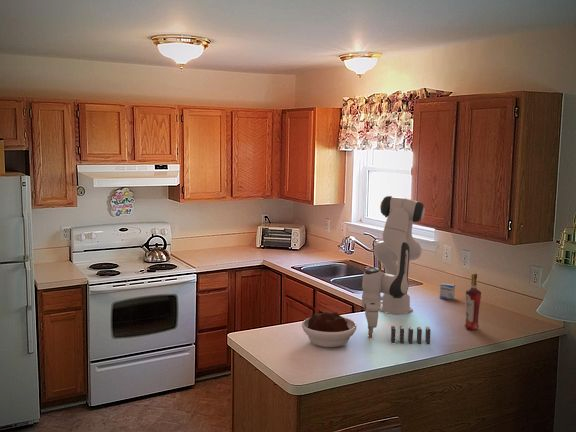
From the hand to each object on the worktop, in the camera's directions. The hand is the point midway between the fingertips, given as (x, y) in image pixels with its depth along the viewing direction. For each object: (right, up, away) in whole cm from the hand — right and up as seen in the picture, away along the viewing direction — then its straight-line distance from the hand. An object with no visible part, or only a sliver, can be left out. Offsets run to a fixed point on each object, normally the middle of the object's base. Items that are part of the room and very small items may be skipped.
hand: (370, 330), depth 281 cm
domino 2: (+10, -4, -6) cm, 12 cm away
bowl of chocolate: (-20, -4, -9) cm, 23 cm away
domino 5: (+22, -4, -6) cm, 23 cm away
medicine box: (+55, +6, +69) cm, 88 cm away
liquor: (+53, -2, +14) cm, 55 cm away
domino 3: (+14, -4, -6) cm, 16 cm away
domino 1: (0, -3, 0) cm, 3 cm away
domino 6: (+26, -4, -7) cm, 27 cm away
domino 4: (+18, -4, -6) cm, 19 cm away
